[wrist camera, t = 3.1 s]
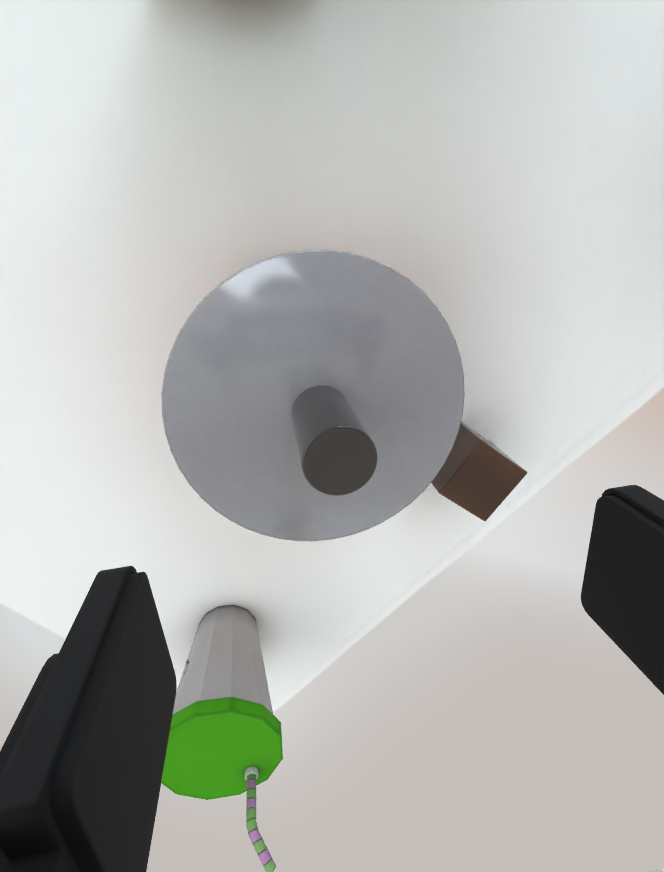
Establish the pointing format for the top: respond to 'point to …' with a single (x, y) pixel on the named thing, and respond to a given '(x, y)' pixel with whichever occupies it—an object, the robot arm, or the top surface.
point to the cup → (224, 718)
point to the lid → (313, 395)
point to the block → (477, 474)
